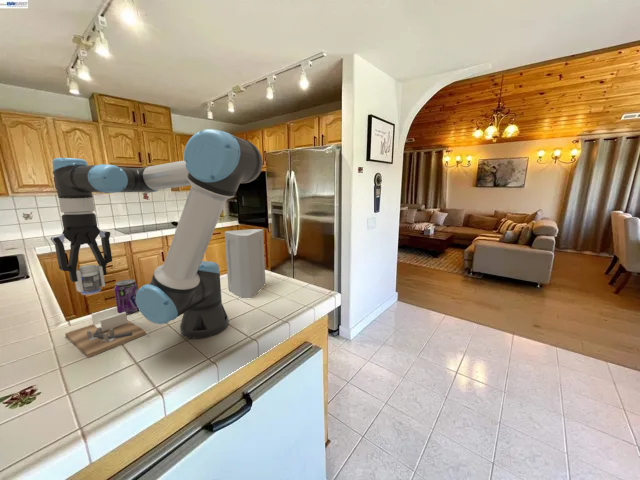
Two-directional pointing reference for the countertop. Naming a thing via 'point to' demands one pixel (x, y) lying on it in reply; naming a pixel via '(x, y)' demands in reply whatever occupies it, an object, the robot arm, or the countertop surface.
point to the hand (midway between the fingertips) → (91, 288)
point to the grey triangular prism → (245, 261)
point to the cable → (112, 336)
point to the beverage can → (126, 296)
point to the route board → (95, 346)
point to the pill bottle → (90, 279)
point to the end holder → (109, 319)
